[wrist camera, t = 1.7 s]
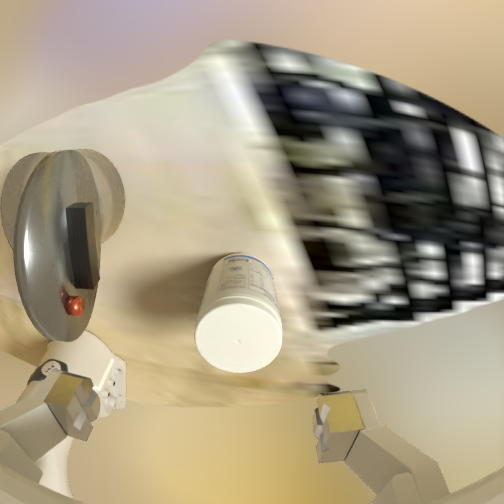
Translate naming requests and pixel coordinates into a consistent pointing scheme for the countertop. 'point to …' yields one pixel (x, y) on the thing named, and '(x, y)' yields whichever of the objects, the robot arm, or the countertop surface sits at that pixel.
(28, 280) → the cooker lid
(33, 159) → the cooker pot
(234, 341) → the supplement tub
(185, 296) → the countertop surface
